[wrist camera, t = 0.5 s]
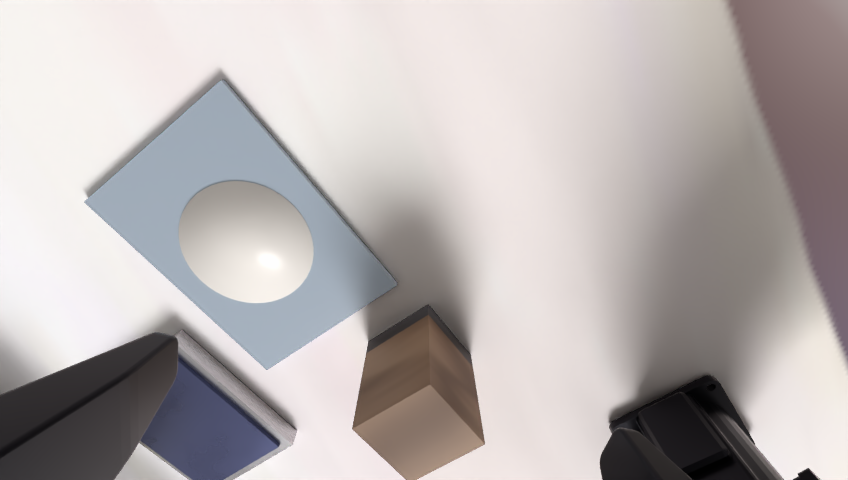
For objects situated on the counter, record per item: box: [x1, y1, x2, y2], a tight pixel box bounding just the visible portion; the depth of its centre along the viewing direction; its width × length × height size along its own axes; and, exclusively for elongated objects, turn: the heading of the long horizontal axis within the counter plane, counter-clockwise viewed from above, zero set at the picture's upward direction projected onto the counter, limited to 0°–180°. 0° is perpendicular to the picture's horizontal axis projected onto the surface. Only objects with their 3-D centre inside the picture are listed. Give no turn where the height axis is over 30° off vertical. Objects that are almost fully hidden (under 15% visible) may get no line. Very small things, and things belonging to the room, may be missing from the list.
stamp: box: [352, 305, 485, 480], centre depth 21 cm, size 4×4×6 cm
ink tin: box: [139, 330, 297, 480], centre depth 25 cm, size 9×7×1 cm
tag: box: [84, 80, 397, 370], centre depth 21 cm, size 12×9×1 cm
